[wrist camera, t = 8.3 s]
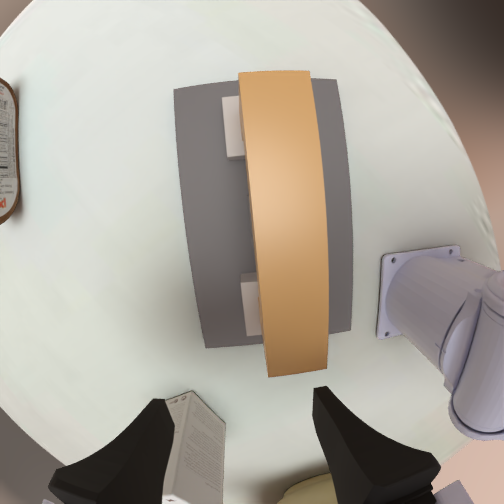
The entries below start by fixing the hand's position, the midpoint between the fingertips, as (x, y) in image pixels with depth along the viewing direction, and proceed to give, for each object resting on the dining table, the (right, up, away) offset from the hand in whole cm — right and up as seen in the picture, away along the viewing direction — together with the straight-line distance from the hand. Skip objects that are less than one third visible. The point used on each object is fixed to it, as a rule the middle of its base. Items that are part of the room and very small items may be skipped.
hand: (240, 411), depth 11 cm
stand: (+2, +10, +8) cm, 13 cm away
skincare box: (-5, -9, +13) cm, 16 cm away
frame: (+2, +10, +5) cm, 11 cm away
